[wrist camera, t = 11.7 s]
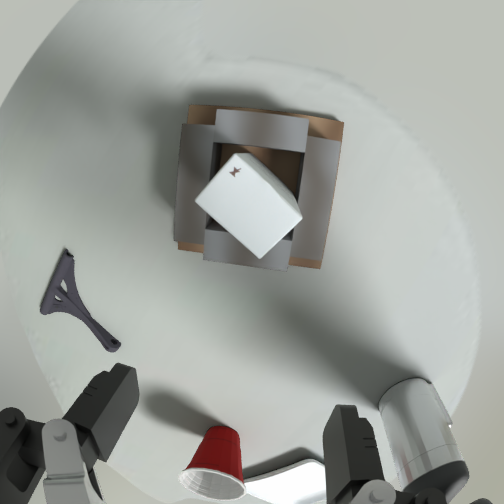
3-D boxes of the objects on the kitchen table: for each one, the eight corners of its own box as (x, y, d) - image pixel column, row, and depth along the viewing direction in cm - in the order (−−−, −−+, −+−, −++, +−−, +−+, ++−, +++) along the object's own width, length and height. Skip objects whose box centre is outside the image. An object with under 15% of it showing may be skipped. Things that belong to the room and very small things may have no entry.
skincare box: (223, 182, 30) (190, 199, 19) (251, 152, 29) (234, 149, 17) (266, 221, 31) (259, 262, 19) (294, 192, 30) (305, 216, 18)
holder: (341, 123, 28) (355, 116, 22) (318, 265, 33) (326, 286, 28) (192, 106, 29) (175, 97, 23) (181, 246, 34) (163, 263, 28)
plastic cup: (231, 409, 42) (219, 470, 31) (264, 442, 45) (259, 497, 33) (180, 422, 45) (162, 475, 33) (215, 452, 47) (204, 502, 36)
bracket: (105, 364, 43) (98, 374, 40) (43, 305, 40) (34, 313, 38) (143, 317, 38) (135, 327, 36) (69, 247, 36) (58, 253, 34)
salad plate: (292, 500, 55) (291, 510, 51) (232, 475, 51) (230, 487, 48) (363, 474, 49) (365, 486, 45) (311, 446, 45) (312, 460, 42)
